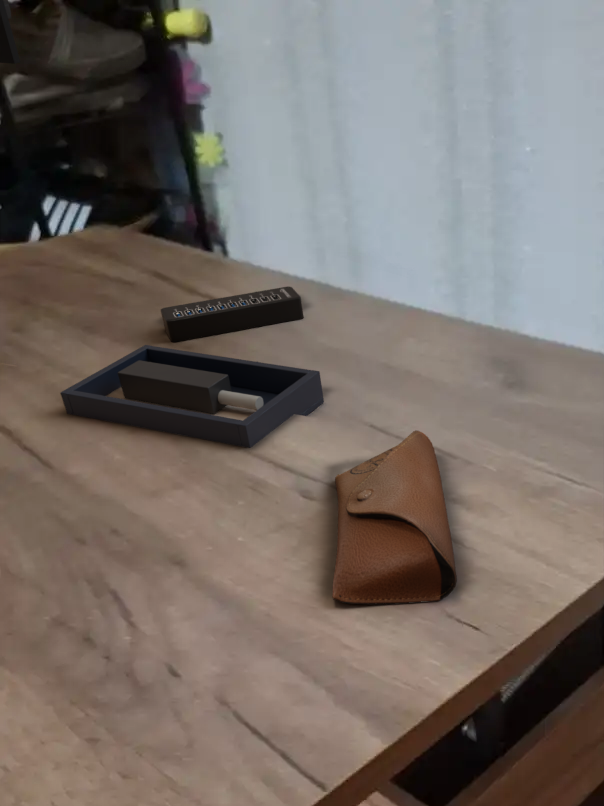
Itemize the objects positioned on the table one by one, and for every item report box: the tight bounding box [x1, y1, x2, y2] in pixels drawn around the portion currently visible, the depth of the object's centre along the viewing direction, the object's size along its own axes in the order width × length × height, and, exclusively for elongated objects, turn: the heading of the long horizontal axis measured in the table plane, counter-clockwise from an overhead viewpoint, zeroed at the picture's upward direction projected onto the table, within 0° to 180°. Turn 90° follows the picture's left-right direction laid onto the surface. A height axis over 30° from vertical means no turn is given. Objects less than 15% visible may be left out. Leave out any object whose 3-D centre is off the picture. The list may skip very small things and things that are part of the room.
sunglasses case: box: [331, 430, 458, 606], centre depth 68 cm, size 18×7×7 cm
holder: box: [59, 344, 325, 449], centre depth 85 cm, size 20×12×3 cm, turn 66°
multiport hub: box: [160, 286, 305, 343], centre depth 103 cm, size 4×14×2 cm, turn 114°
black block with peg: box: [118, 360, 263, 415], centre depth 85 cm, size 14×3×3 cm, turn 66°
